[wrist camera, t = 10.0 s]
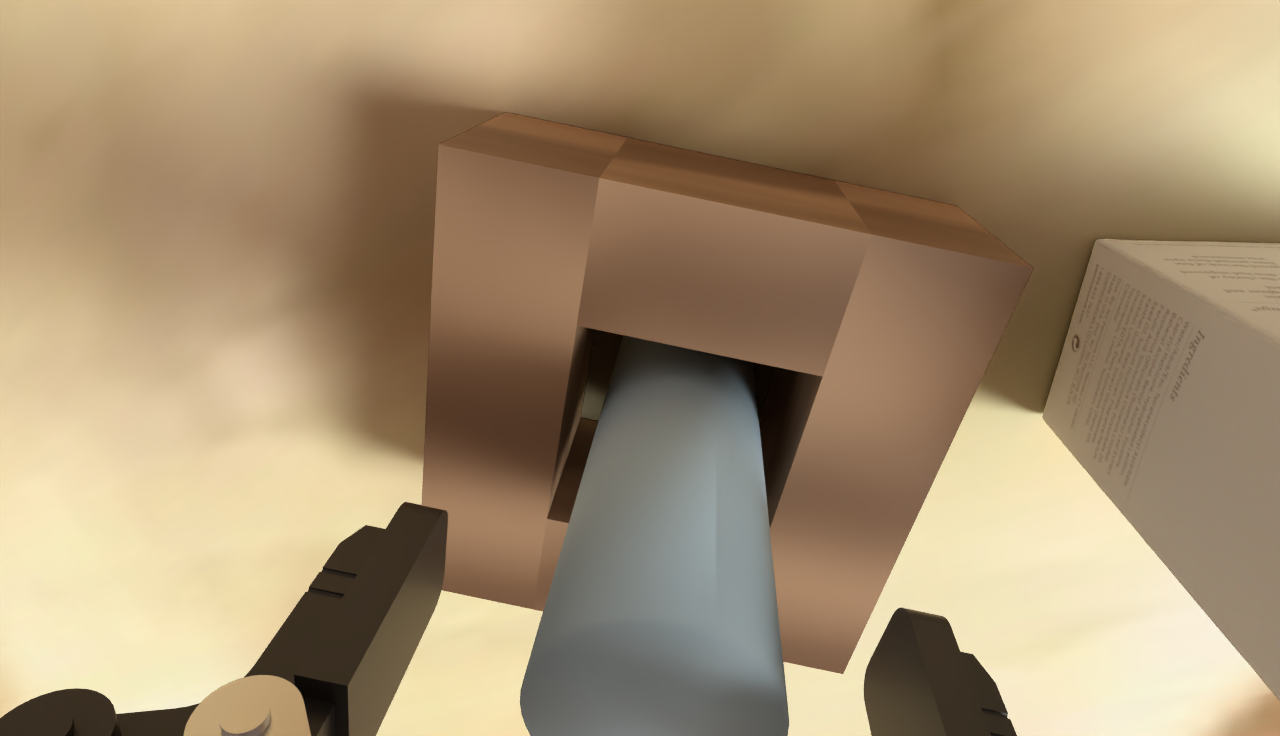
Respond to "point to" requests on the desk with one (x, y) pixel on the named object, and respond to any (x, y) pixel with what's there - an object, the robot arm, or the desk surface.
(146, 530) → the desk surface
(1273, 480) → the small box
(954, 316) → the socket block
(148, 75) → the desk surface
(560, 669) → the peg
